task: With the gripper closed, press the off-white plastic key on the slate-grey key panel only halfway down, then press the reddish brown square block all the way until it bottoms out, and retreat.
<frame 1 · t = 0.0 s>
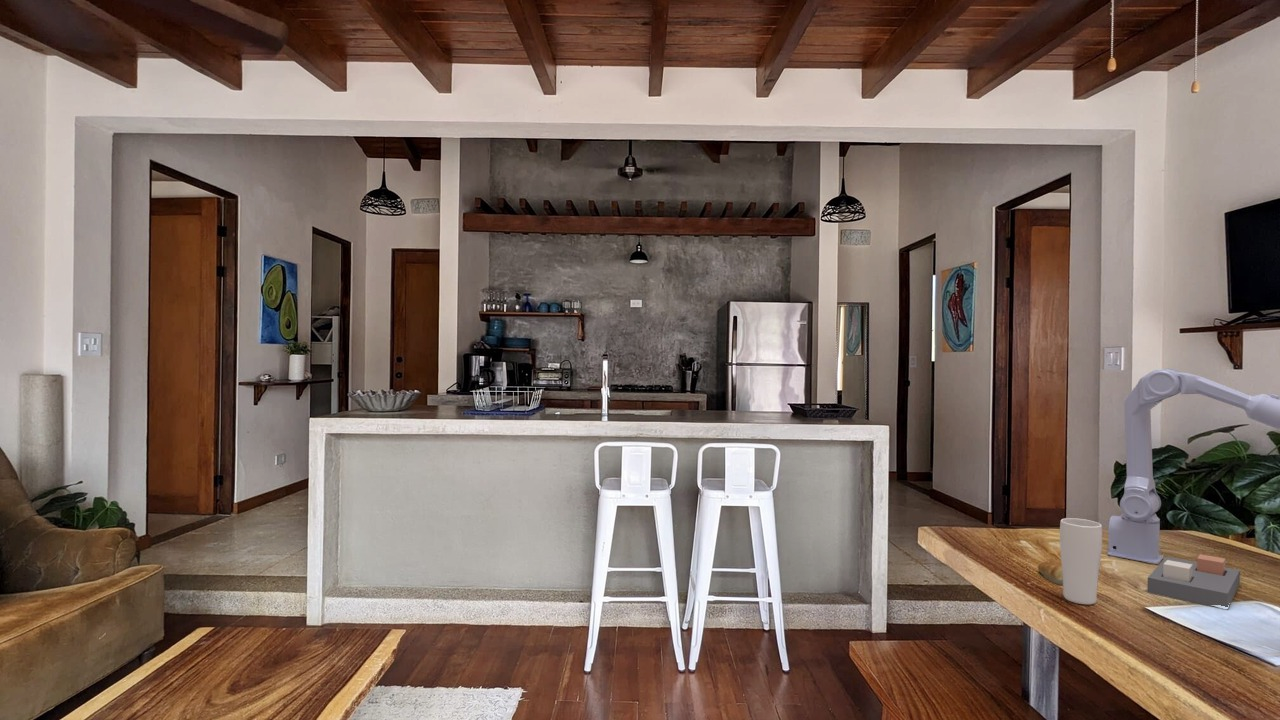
pastry: (1060, 581, 141), on the table
key panel: (1194, 588, 136), on the table
drinking glass: (1079, 601, 129), on the table
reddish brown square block: (1211, 565, 138), point 4 cm above the table, slide at 0.0 cm
white key: (1177, 571, 134), point 4 cm above the table, slide at 0.0 cm
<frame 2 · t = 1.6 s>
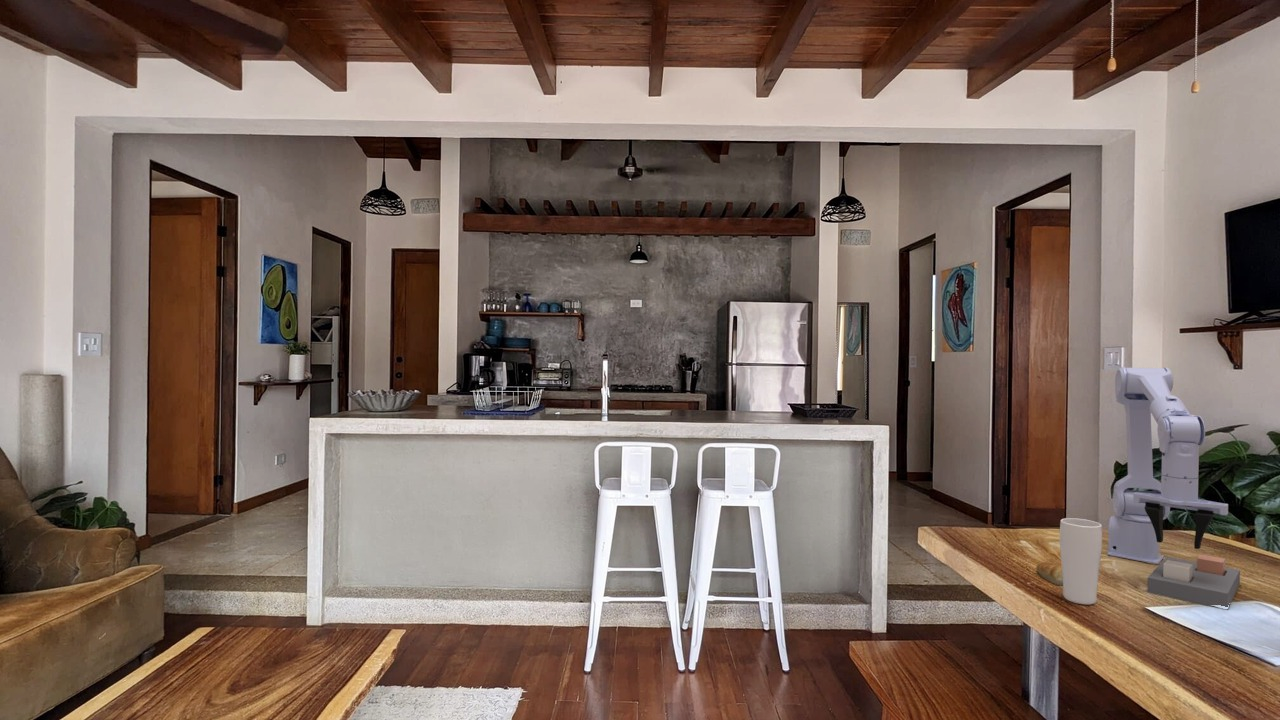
hand: (1178, 544, 134), 9 cm above the table, fingers open, 5 cm apart
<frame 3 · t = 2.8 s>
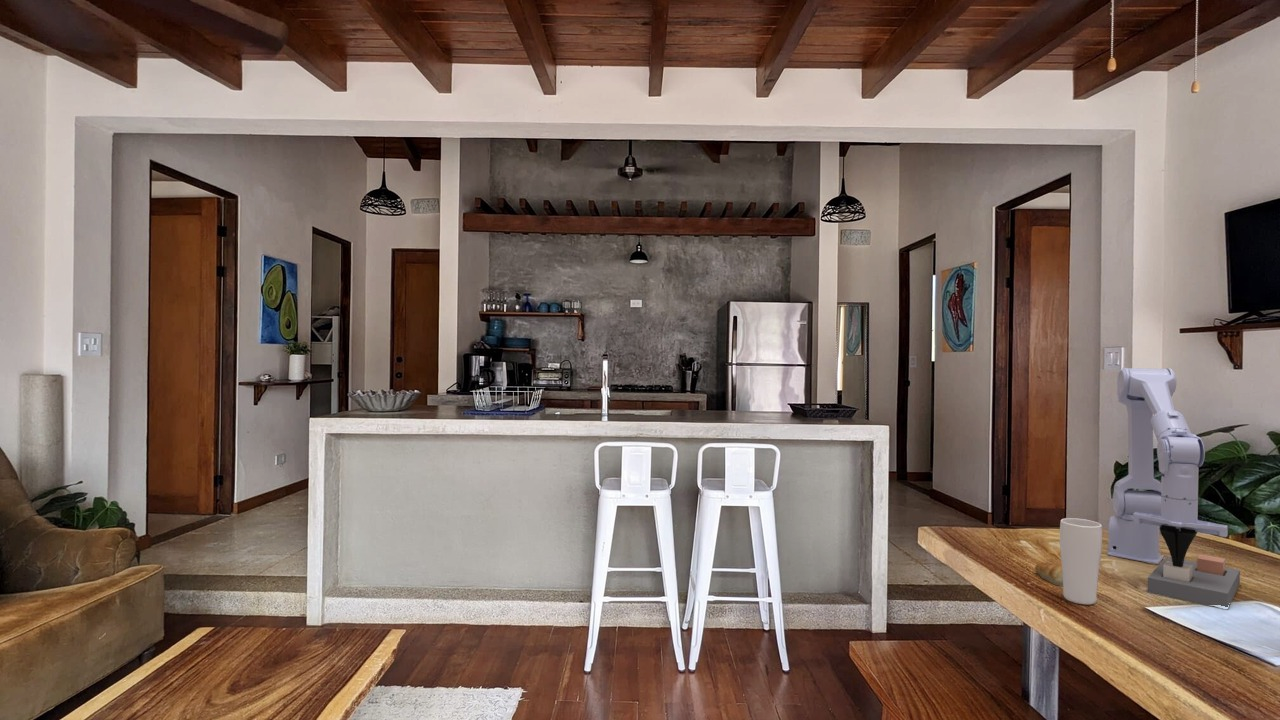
hand: (1178, 565, 134), 5 cm above the table, fingers closed, pressing on white key
white key: (1177, 572, 134), point 4 cm above the table, slide at 0.2 cm, touching gripper
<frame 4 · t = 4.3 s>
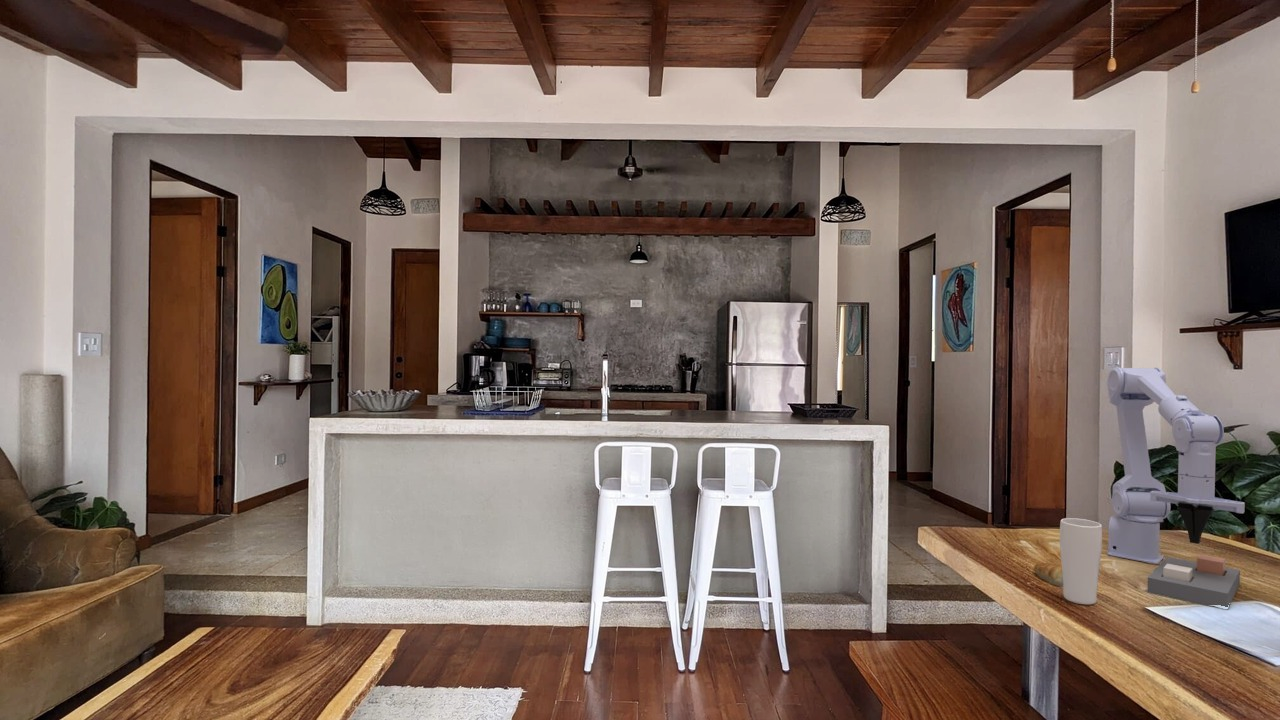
hand: (1194, 542, 136), 9 cm above the table, fingers closed
white key: (1177, 575, 134), point 3 cm above the table, slide at 0.7 cm
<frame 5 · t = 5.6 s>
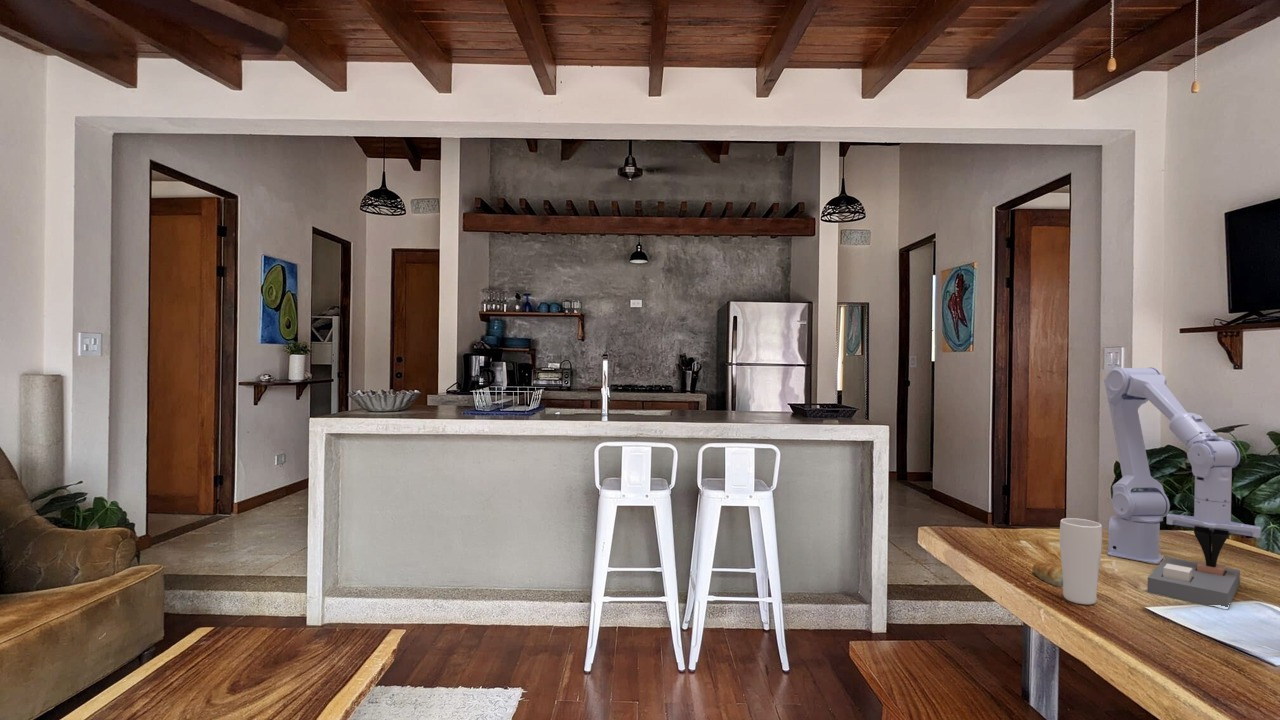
hand: (1211, 565, 138), 4 cm above the table, fingers closed, pressing on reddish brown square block
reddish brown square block: (1211, 572, 138), point 3 cm above the table, slide at 1.4 cm, touching gripper
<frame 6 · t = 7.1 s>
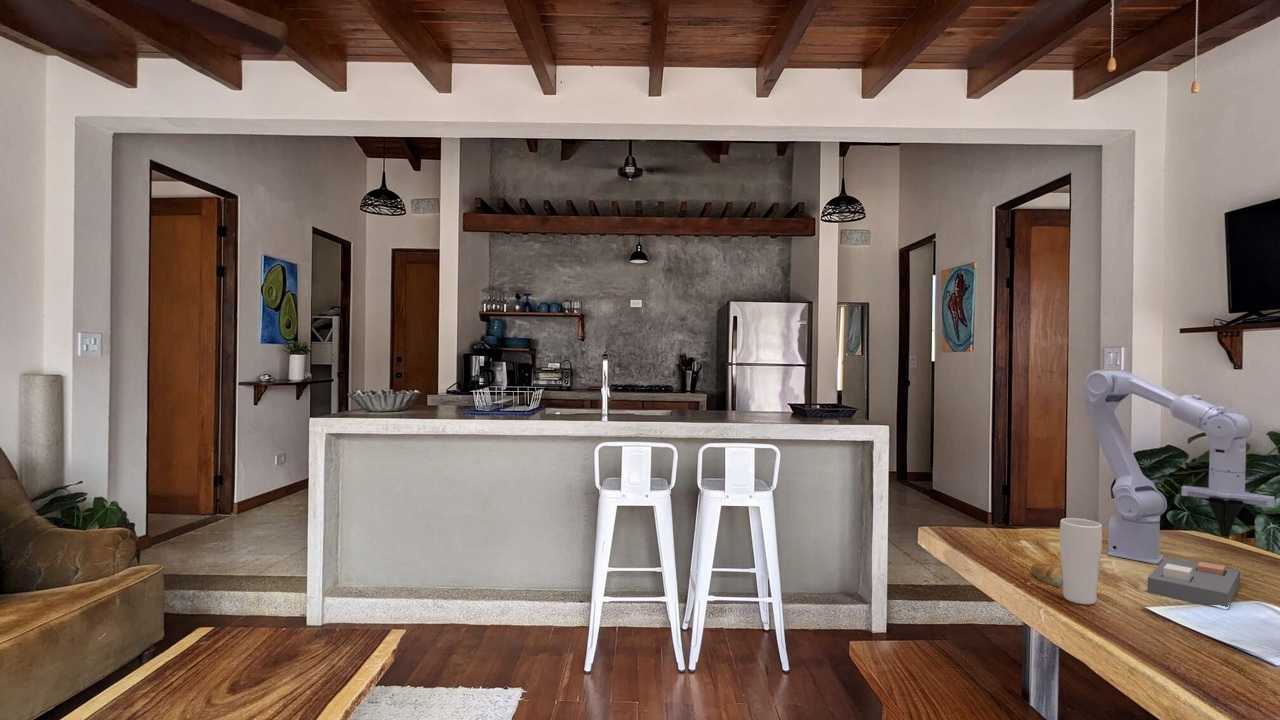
hand: (1225, 535, 141), 9 cm above the table, fingers closed
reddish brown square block: (1211, 573, 138), point 3 cm above the table, slide at 1.5 cm
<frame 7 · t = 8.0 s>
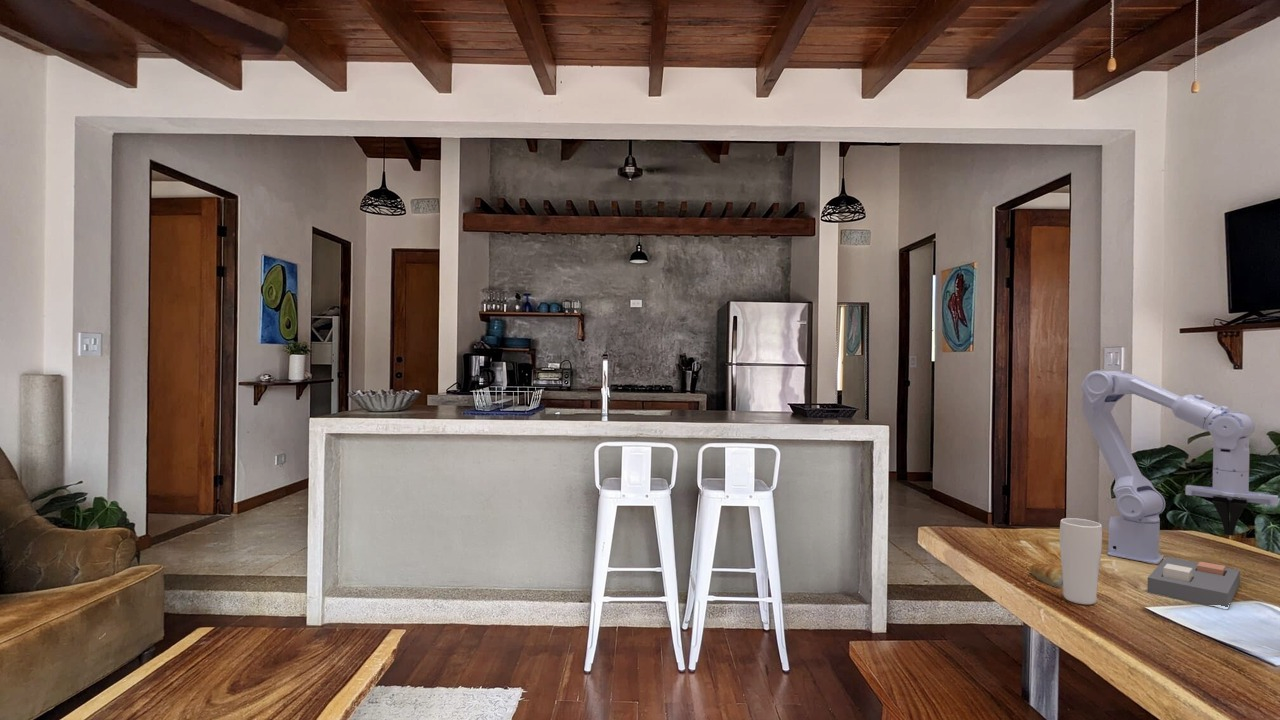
hand: (1229, 534, 142), 9 cm above the table, fingers closed
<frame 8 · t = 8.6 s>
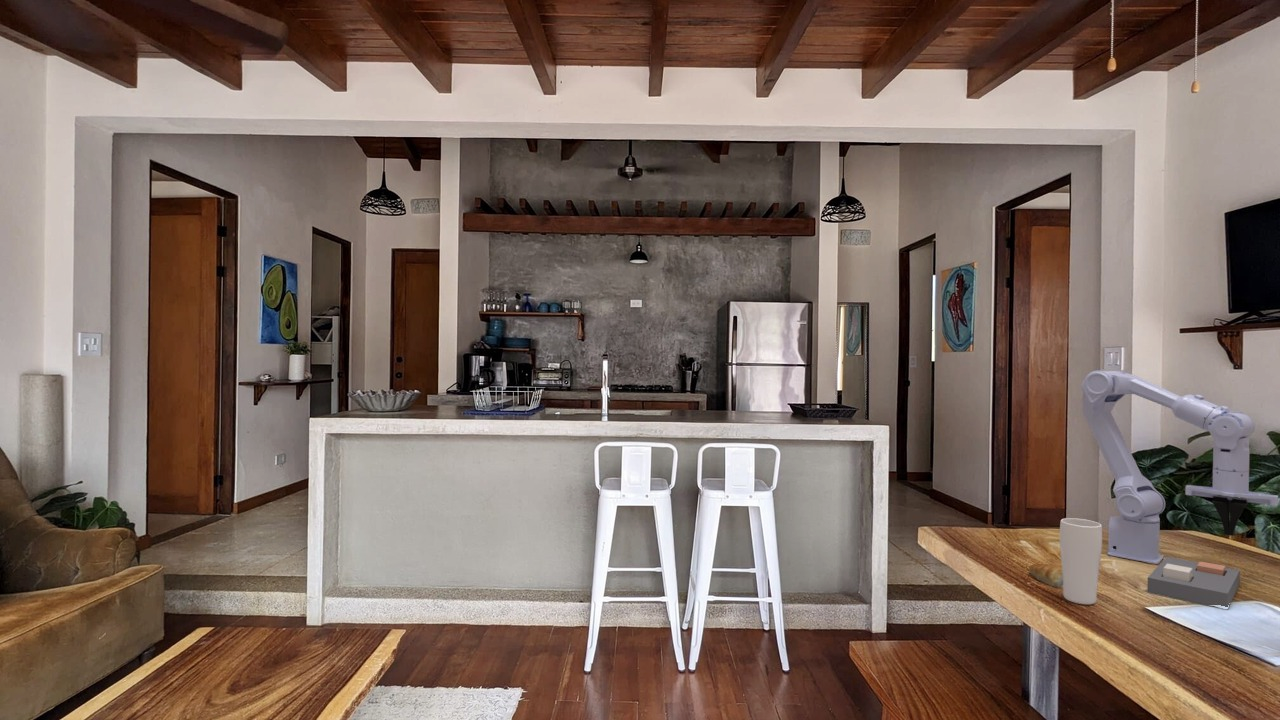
hand: (1229, 534, 142), 9 cm above the table, fingers closed
at the end: white key slide at 0.7 cm; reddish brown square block slide at 1.5 cm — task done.
